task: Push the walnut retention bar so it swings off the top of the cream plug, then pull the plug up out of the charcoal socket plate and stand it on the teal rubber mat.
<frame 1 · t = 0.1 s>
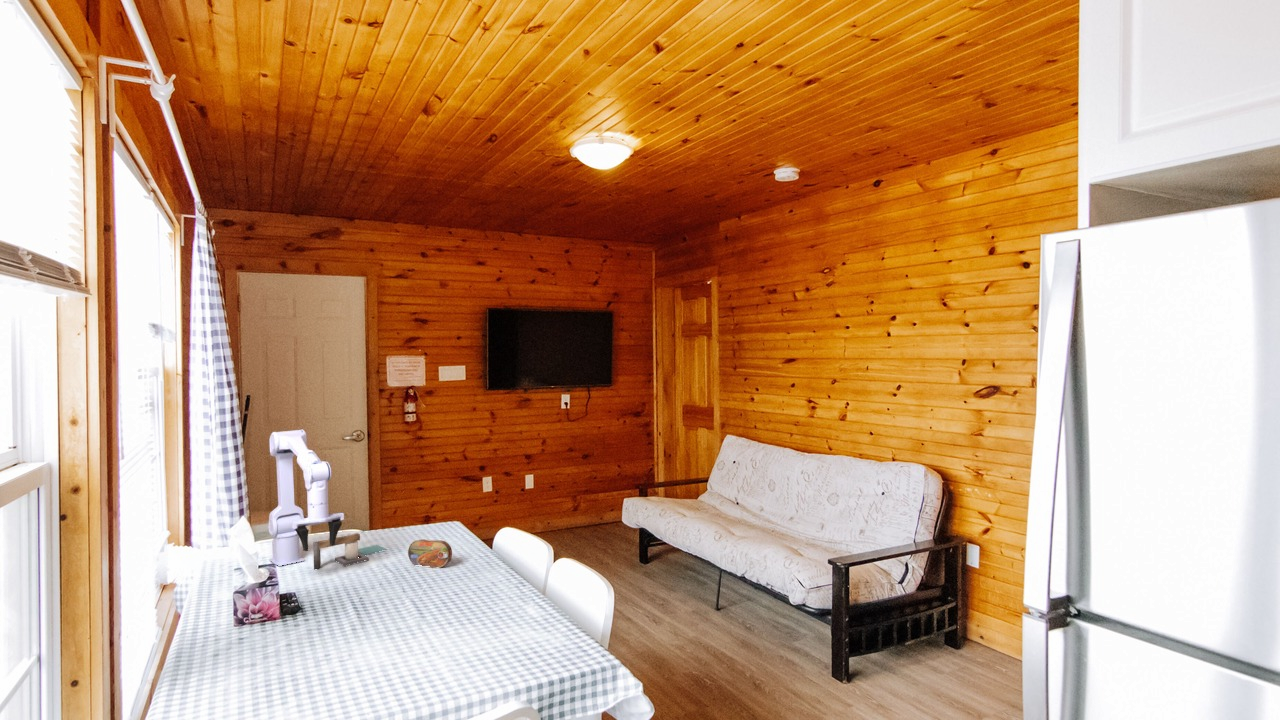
hand: (319, 547, 205), 10 cm above the table, tool pointing down, fingers open, 7 cm apart
plug: (351, 551, 225), in the socket plate
socket plate: (351, 560, 225), on the table
retention bar: (336, 551, 221), point 4 cm above the table, hinge at 0.0°
tin: (430, 566, 218), on the table
teal mat: (370, 550, 235), on the table
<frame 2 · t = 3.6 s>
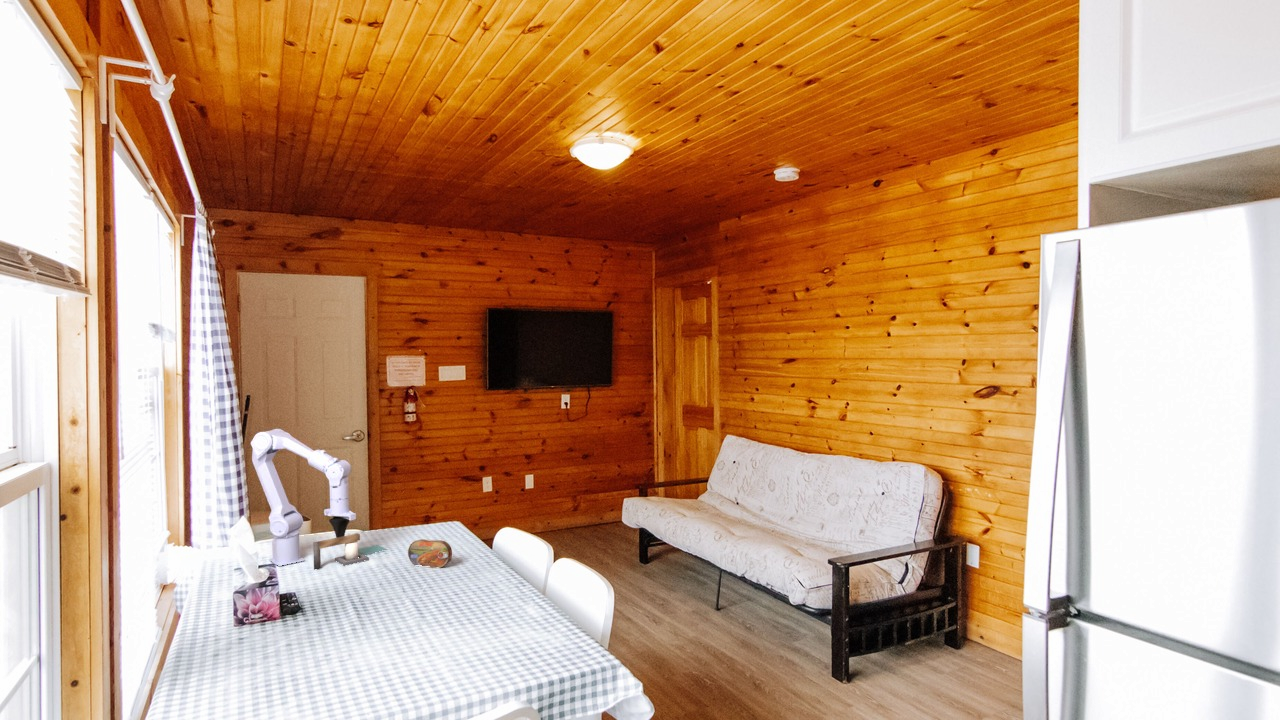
hand: (340, 539, 224), 7 cm above the table, tool pointing down, fingers closed, pressing on retention bar
retention bar: (336, 551, 221), point 4 cm above the table, hinge at -0.3°, touching gripper
everything else where it was.
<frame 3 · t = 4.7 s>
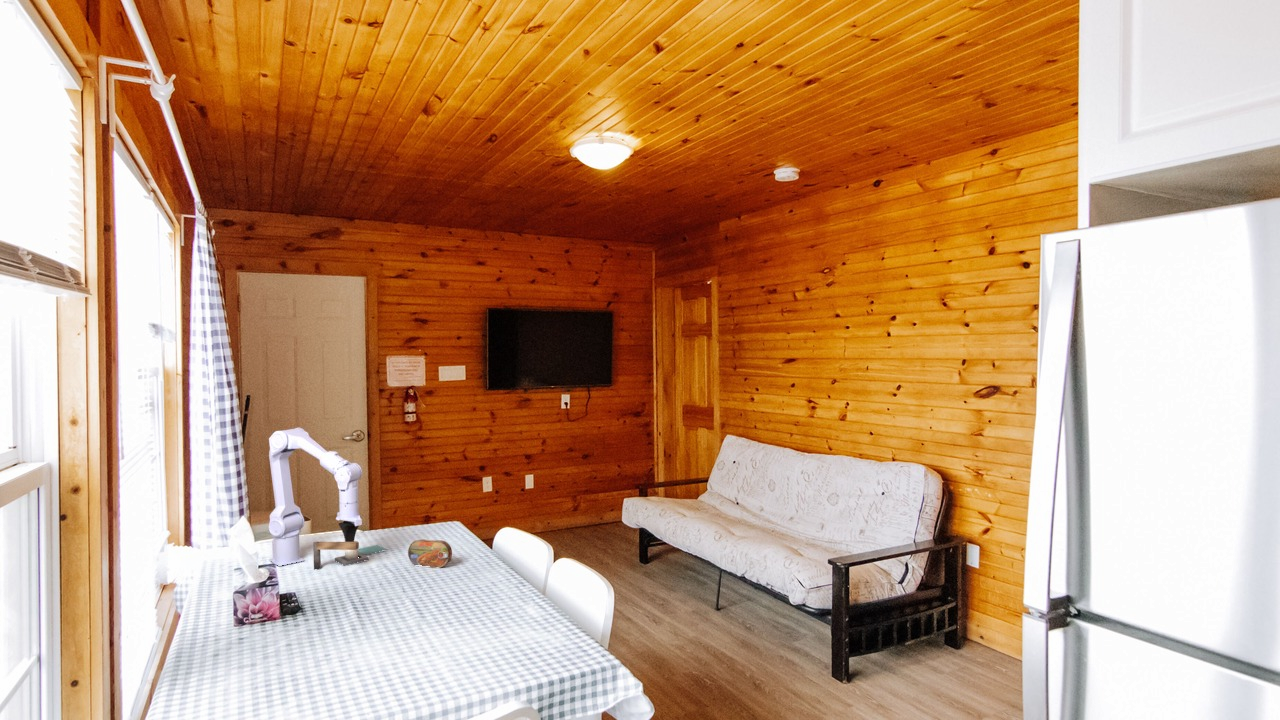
hand: (349, 544, 218), 7 cm above the table, tool pointing down, fingers closed, pressing on retention bar
retention bar: (335, 555, 216), point 4 cm above the table, hinge at -49.9°, touching gripper
everything else where it was.
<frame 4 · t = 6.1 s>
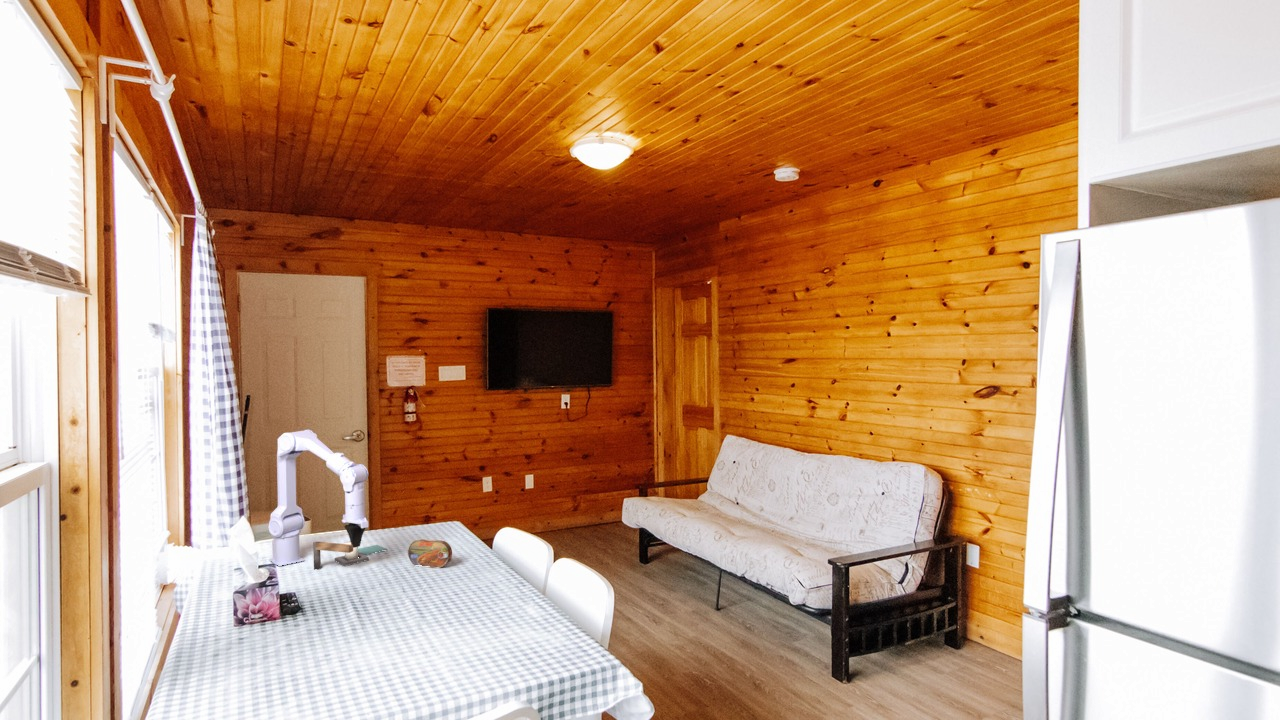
hand: (356, 546, 215), 7 cm above the table, tool pointing down, fingers closed
retention bar: (332, 557, 215), point 4 cm above the table, hinge at -63.6°, touching gripper
everything else where it was.
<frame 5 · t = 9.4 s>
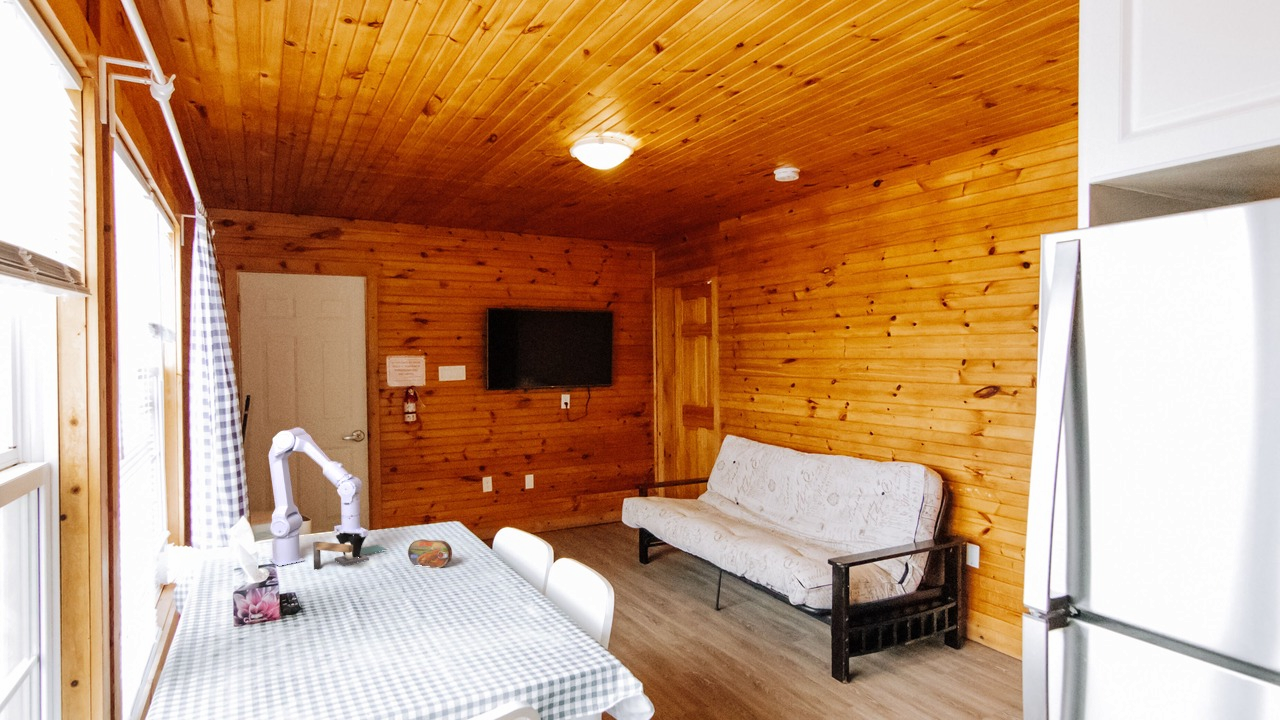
hand: (351, 555, 225), 2 cm above the table, tool pointing down, fingers closed on plug, 4 cm apart
plug: (351, 551, 225), in the socket plate, touching gripper
retention bar: (332, 557, 215), point 4 cm above the table, hinge at -63.8°
everything else where it was.
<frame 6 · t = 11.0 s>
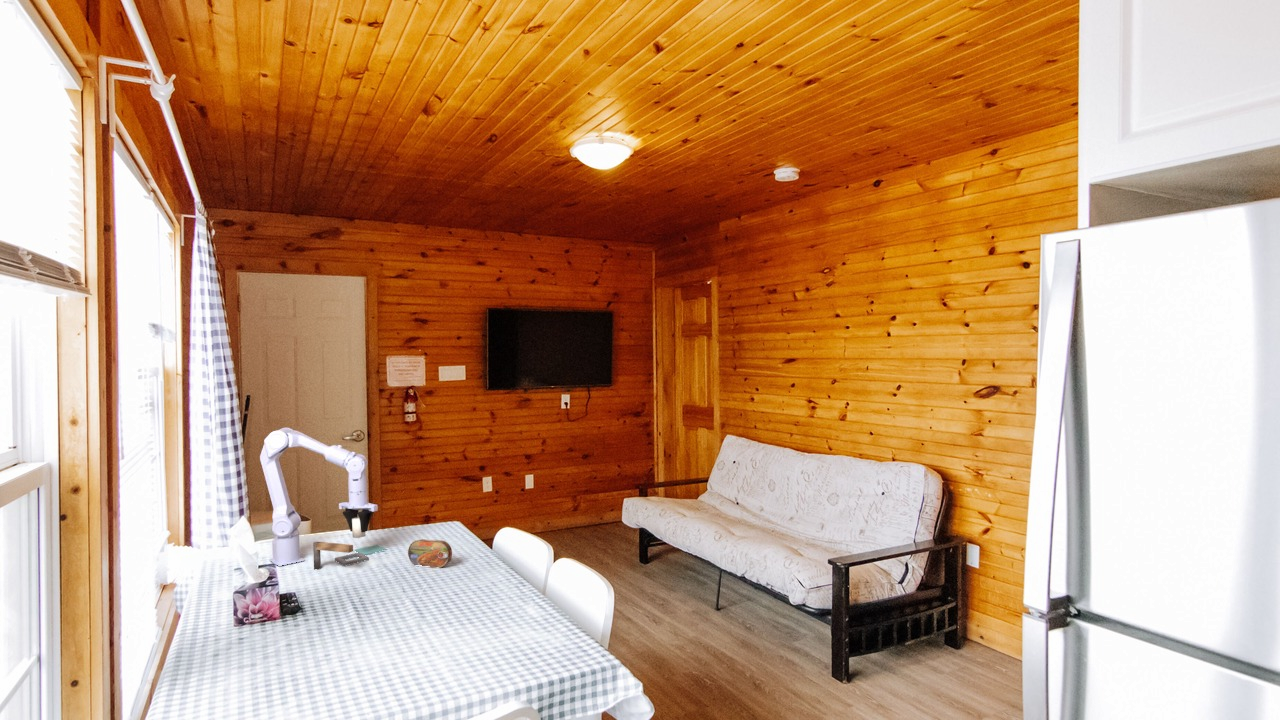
hand: (358, 531, 229), 9 cm above the table, tool pointing down, fingers closed on plug, 4 cm apart
plug: (358, 527, 229), point 10 cm above the table, touching gripper
everything else where it was.
when the fingers open (3 cm above the table, at t = 12.9 s): plug stays where it is, resting on teal mat.
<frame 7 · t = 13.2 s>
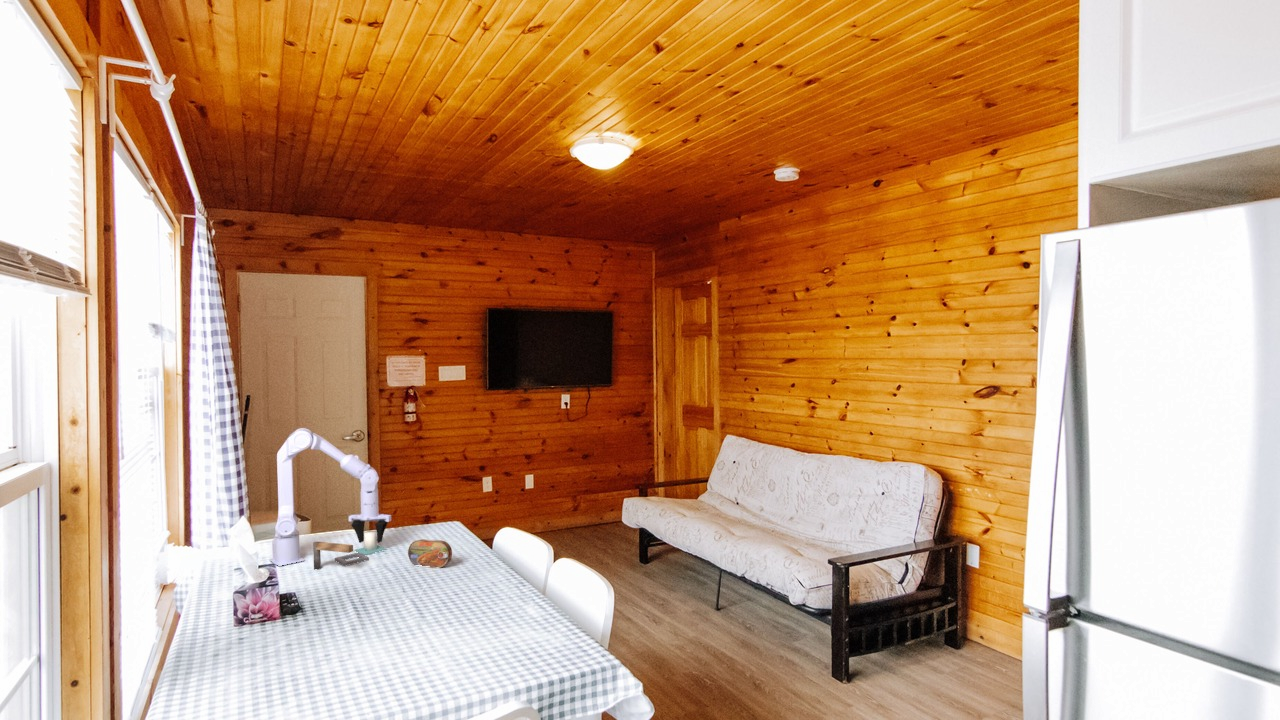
hand: (370, 541, 235), 3 cm above the table, tool pointing down, fingers open, 6 cm apart
plug: (370, 540, 235), on the teal mat
everything else where it was.
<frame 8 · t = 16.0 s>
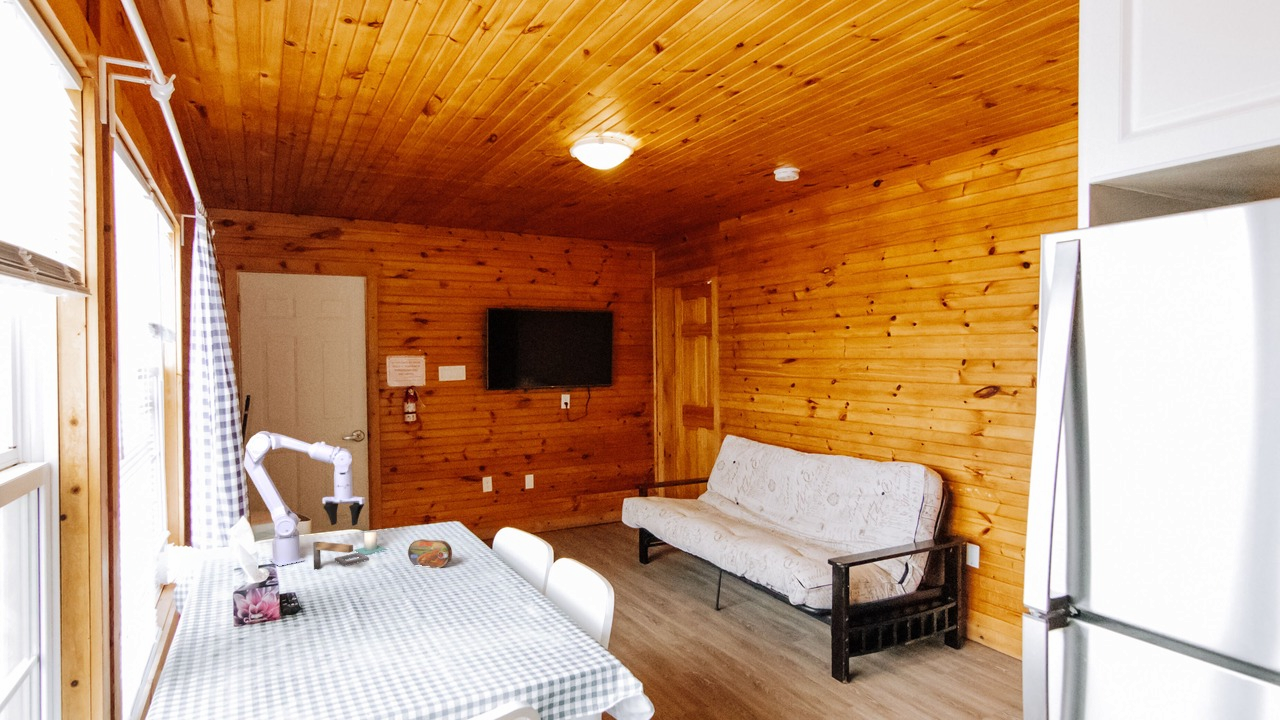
hand: (344, 524, 231), 10 cm above the table, tool pointing down, fingers open, 7 cm apart
nothing on the table moved.
at the end: retention bar at -64° (first picture: +0°); plug 0.0 cm off-centre on the teal mat, point 3.5 cm above the teal mat's base; plug tilted 0° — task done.
